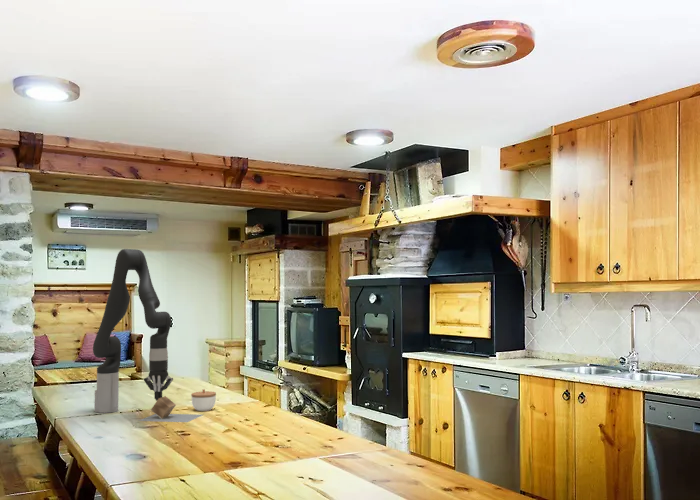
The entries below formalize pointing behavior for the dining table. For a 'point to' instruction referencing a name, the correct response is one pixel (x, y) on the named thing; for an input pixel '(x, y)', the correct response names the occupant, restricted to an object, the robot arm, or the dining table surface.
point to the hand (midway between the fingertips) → (158, 400)
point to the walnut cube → (163, 407)
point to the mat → (172, 418)
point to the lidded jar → (203, 400)
